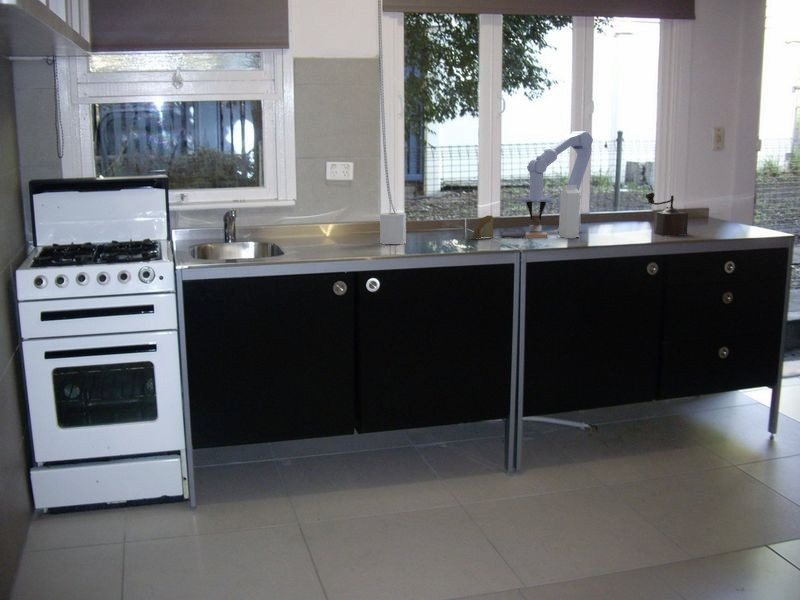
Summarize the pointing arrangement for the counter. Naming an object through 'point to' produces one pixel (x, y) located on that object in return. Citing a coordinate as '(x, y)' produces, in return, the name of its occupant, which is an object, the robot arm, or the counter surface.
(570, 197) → the milk
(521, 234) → the pad
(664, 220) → the manual coffee grinder
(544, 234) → the tile
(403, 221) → the light grey block
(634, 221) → the counter surface
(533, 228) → the two-tone stacked blocks
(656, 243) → the counter surface
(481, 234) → the rock
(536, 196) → the robot arm
